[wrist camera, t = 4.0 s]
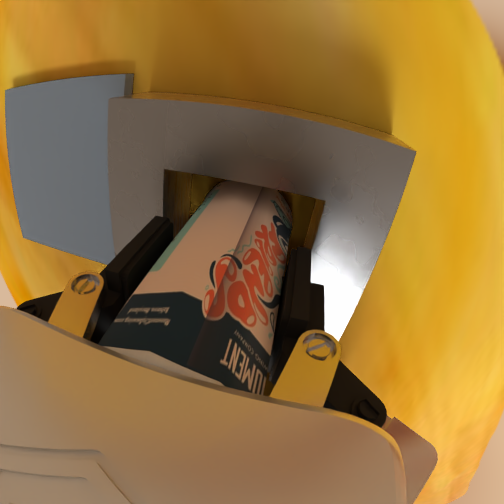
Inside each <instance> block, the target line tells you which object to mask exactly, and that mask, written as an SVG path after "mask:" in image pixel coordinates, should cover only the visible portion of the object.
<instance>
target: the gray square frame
mask: <svg viewBox="0 0 504 504" xmlns="http://www.w3.org/2000/svg"><path fill="white" fill-rule="evenodd" d="M107 143H108V182H109V199H110V212H111V224H112V234H113V243H114V251H115V257H116V256H117V254H118V253H119V252H120V251H121V250H122V249H123V248H124V247H125V246H126V245H127V244H128V243H129V242H130V241H131V240H132V239H133V238H134V237H135V236H136V235H137V234H138V233H139V232H140V231H141V230H142V229H143V228H144V227H145V226H146V225H147V224H148V223H149V222H150V221H151V220H152V219H153V218H154V217H155V216H161V217H166V218H169V219H170V222H172V223H173V225H174V230H173V239H174V238H175V237H176V235H177V234H178V233H179V232H180V230H181V229H182V228H183V227H184V225H185V224H186V223H187V222H188V220H189V214H190V197H191V182H192V173H193V174H199V175H204V176H210V177H216V178H221V179H227V180H232V181H237V182H242V183H247V184H252V185H257V186H262V187H267V188H272V189H276V190H281V191H286V192H290V193H295V194H299V195H303V196H308V197H312V198H316V201H315V205H314V209H313V213H312V216H311V220H310V224H309V228H308V231H307V235H306V239H305V242H304V246H303V248H308V249H311V283H316V284H320V285H324V297H325V332H327V333H329V334H331V335H332V336H334V337H335V338H336V339H337V340H338V341H339V339H340V337H341V335H342V333H343V331H344V330H345V328H346V326H347V324H348V322H349V320H350V318H351V316H352V314H353V312H354V310H355V308H356V305H357V303H358V301H359V299H360V297H361V295H362V293H363V291H364V289H365V286H366V284H367V282H368V280H369V278H370V275H371V273H372V271H373V269H374V266H375V264H376V262H377V259H378V257H379V255H380V252H381V250H382V247H383V245H384V242H385V240H386V237H387V235H388V232H389V230H390V227H391V225H392V222H393V219H394V217H395V214H396V211H397V209H398V206H399V203H400V200H401V198H402V195H403V192H404V189H405V186H406V183H407V180H408V177H409V174H410V171H411V168H412V164H413V161H414V158H415V155H416V151H415V150H413V149H412V148H411V147H409V146H408V145H406V144H405V143H403V142H402V141H400V140H399V139H397V138H396V137H394V136H393V135H391V134H388V133H385V132H381V131H378V130H375V129H372V128H369V127H365V126H362V125H358V124H355V123H351V122H348V121H344V120H340V119H336V118H332V117H328V116H324V115H320V114H316V113H312V112H307V111H303V110H298V109H293V108H288V107H283V106H277V105H272V104H266V103H260V102H254V101H247V100H240V99H233V98H225V97H216V96H206V95H195V94H182V93H165V92H144V93H138V94H131V95H125V96H119V97H114V98H109V99H108V137H107ZM283 280H284V277H283Z"/></svg>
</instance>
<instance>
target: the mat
mask: <svg viewBox="0 0 504 504" xmlns="http://www.w3.org/2000/svg"><path fill="white" fill-rule="evenodd" d="M133 77H134V74H113V75H98V76H87V77H77V78H69V79H61V80H54V81H48V82H42V83H36V84H31V85H26V86H21V87H16V88H12V89H8V90H5V117H6V136H7V148H8V158H9V166H10V174H11V181H12V187H13V193H14V198H15V204H16V209H17V213H18V218H19V223H20V227H21V231H22V235H23V238H26V239H29V240H31V241H34V242H37V243H40V244H43V245H46V246H49V247H52V248H55V249H58V250H61V251H65V252H68V253H71V254H74V255H77V256H80V257H83V258H87V259H90V260H93V261H96V262H100V263H103V264H106V265H108V264H109V263H110V262H111V261H112V260H113V259H114V258H115V251H114V243H113V234H112V224H111V212H110V199H109V182H108V143H107V137H108V99H109V98H114V97H119V96H125V95H131V94H132V89H133Z"/></svg>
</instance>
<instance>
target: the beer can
mask: <svg viewBox="0 0 504 504" xmlns="http://www.w3.org/2000/svg"><path fill="white" fill-rule="evenodd" d="M292 223H293V218H292V213H291V210H290V207H289V205H288V204H287V202H286V200H285V199H284V197H283V196H282V195H281V194H280V193H279V192H278V191H277V190H276V189H272V188H267V187H262V186H257V185H252V184H247V183H242V182H237V181H232V180H226V181H223V182H221V183H219V184H218V185H216V186H215V187H214V188H213V189H212V190H211V191H210V192H209V193H208V194H207V196H206V198H205V199H204V201H203V203H202V204H201V206H200V207H199V208H198V209H197V210H196V212H195V213H194V214H193V215H192V217H191V218H190V219H189V220H188V222H187V223H186V224H185V225H184V227H183V228H182V229H181V230H180V232H179V233H178V234H177V235H176V237H175V238H174V239H173V241H172V242H171V243H170V244H169V246H168V247H167V248H166V250H165V251H164V252H163V254H162V255H161V256H160V257H159V259H158V260H157V261H156V263H155V264H154V265H153V267H152V268H151V269H150V271H149V272H148V273H147V275H146V276H145V278H144V279H143V280H142V282H141V283H140V284H139V286H138V287H137V288H136V290H135V291H134V293H133V294H132V295H131V297H130V298H129V300H128V301H127V302H126V304H125V305H124V307H123V308H122V310H121V311H120V312H119V314H118V315H117V317H116V318H115V320H114V321H113V322H112V324H111V325H110V327H109V328H108V330H107V331H106V333H105V334H104V336H103V337H102V339H101V340H100V342H99V343H98V345H100V346H103V347H105V348H108V349H110V350H113V351H116V352H118V353H121V354H123V355H126V356H129V357H131V358H134V359H137V360H140V361H142V362H145V363H148V364H151V365H154V366H157V367H160V368H163V369H166V370H169V371H172V372H176V373H179V374H182V375H185V376H189V377H192V378H196V379H199V380H202V381H206V382H210V383H213V384H217V385H221V386H225V387H229V388H233V389H237V390H241V391H245V392H250V393H254V394H259V395H263V393H264V388H265V382H266V377H267V372H268V366H269V361H270V355H271V349H272V344H273V338H274V332H275V326H276V320H277V314H278V308H279V302H280V296H281V290H282V283H283V277H284V270H285V264H286V257H287V250H288V243H289V239H290V235H291V232H292Z"/></svg>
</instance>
